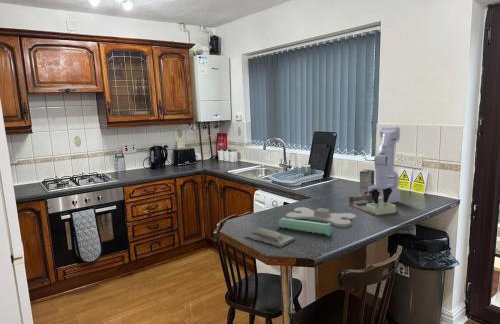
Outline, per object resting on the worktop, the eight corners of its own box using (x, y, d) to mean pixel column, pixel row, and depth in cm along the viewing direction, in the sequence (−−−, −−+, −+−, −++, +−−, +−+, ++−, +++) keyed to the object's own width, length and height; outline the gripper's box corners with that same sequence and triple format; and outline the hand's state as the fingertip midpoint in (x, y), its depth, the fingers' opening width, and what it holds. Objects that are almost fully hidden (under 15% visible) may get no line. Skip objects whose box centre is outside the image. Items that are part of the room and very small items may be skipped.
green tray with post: (385, 208, 181) (385, 194, 180) (395, 212, 173) (395, 197, 172) (366, 211, 178) (366, 196, 176) (375, 215, 170) (375, 200, 169)
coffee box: (364, 193, 217) (364, 169, 214) (374, 195, 213) (374, 170, 210) (359, 196, 210) (359, 171, 207) (369, 198, 206) (369, 172, 203)
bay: (369, 202, 196) (369, 193, 196) (397, 213, 174) (398, 203, 173) (346, 205, 192) (346, 195, 192) (372, 217, 170) (372, 206, 169)
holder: (348, 229, 155) (348, 219, 155) (282, 219, 173) (282, 210, 173) (359, 217, 171) (359, 208, 170) (297, 209, 189) (297, 201, 189)
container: (277, 215, 159) (328, 222, 146) (282, 217, 164) (332, 223, 151) (275, 228, 158) (326, 236, 145) (280, 229, 163) (331, 236, 150)
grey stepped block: (280, 249, 136) (280, 241, 136) (244, 238, 150) (244, 230, 149) (295, 241, 144) (294, 233, 143) (259, 231, 157) (259, 224, 157)
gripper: (374, 180, 167) (373, 206, 169) (398, 177, 171) (397, 203, 173) (365, 177, 174) (365, 202, 176) (389, 175, 177) (388, 200, 179)
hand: (380, 202), depth 175 cm, fingers open, 5 cm apart
